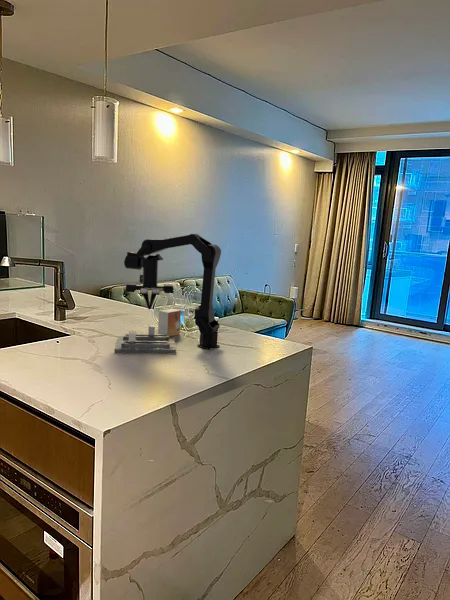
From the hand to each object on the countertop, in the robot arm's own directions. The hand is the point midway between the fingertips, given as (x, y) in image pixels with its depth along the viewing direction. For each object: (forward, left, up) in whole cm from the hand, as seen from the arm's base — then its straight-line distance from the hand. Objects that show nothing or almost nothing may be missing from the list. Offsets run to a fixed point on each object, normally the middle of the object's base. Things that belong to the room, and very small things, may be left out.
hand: (149, 309), depth 184 cm
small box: (-1, -10, -12) cm, 16 cm away
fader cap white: (-9, +15, -10) cm, 20 cm away
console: (-9, +9, -12) cm, 17 cm away
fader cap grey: (-6, +3, -10) cm, 12 cm away
